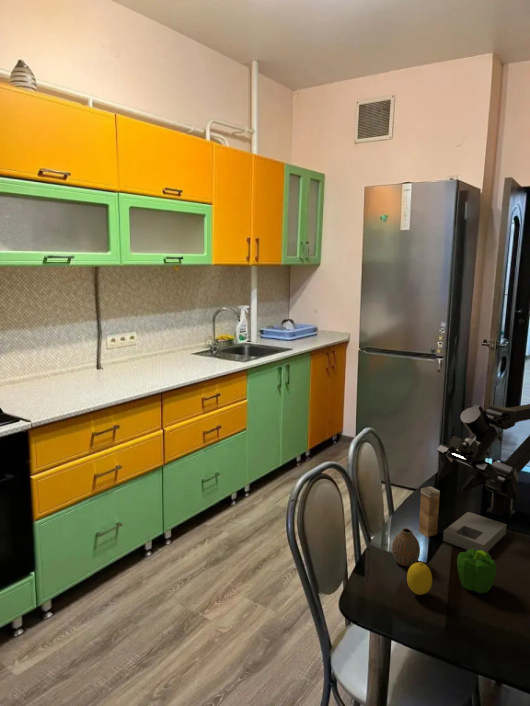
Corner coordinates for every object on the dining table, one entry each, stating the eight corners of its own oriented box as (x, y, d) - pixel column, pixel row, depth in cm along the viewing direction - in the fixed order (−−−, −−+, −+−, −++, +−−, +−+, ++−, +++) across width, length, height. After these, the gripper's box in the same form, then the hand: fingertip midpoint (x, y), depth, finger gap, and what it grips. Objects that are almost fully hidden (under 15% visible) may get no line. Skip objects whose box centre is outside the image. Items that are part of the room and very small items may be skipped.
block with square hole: (467, 521, 154) (468, 511, 154) (505, 534, 147) (506, 524, 146) (442, 540, 143) (443, 530, 142) (483, 555, 135) (483, 545, 135)
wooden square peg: (428, 528, 149) (430, 486, 147) (437, 534, 146) (439, 491, 144) (418, 531, 148) (420, 488, 146) (427, 537, 145) (430, 493, 143)
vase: (419, 557, 134) (421, 526, 133) (418, 572, 128) (420, 539, 127) (392, 553, 137) (394, 521, 135) (390, 566, 130) (391, 534, 129)
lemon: (432, 603, 116) (434, 570, 115) (406, 600, 117) (408, 567, 116) (429, 589, 121) (431, 557, 120) (405, 586, 122) (407, 554, 121)
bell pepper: (451, 576, 126) (453, 538, 125) (485, 577, 126) (488, 539, 124) (463, 597, 118) (466, 557, 116) (499, 598, 118) (503, 558, 116)
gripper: (443, 418, 156) (412, 458, 153) (494, 436, 139) (461, 481, 136) (460, 439, 161) (431, 479, 158) (512, 459, 144) (480, 504, 141)
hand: (449, 485), depth 148 cm, fingers open, 9 cm apart
